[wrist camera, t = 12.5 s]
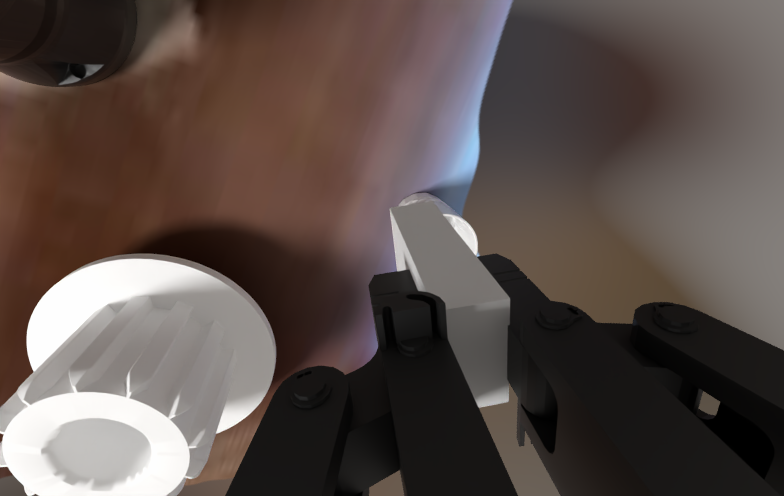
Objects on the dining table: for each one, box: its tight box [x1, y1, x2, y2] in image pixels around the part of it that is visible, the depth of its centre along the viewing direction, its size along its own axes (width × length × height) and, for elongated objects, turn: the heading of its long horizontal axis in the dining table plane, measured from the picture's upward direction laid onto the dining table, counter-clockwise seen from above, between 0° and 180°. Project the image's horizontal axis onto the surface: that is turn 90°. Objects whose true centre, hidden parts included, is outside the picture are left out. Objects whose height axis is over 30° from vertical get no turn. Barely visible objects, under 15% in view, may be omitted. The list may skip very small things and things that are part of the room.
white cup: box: [398, 193, 478, 255], centre depth 44 cm, size 8×8×10 cm
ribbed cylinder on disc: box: [0, 254, 276, 496], centre depth 41 cm, size 25×25×19 cm
